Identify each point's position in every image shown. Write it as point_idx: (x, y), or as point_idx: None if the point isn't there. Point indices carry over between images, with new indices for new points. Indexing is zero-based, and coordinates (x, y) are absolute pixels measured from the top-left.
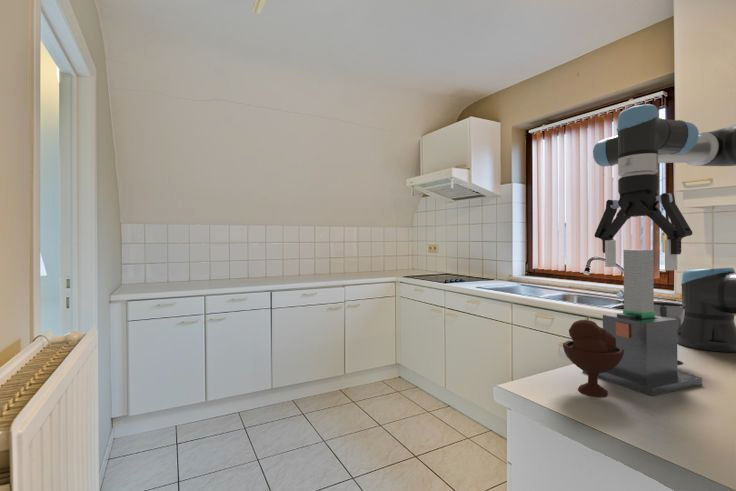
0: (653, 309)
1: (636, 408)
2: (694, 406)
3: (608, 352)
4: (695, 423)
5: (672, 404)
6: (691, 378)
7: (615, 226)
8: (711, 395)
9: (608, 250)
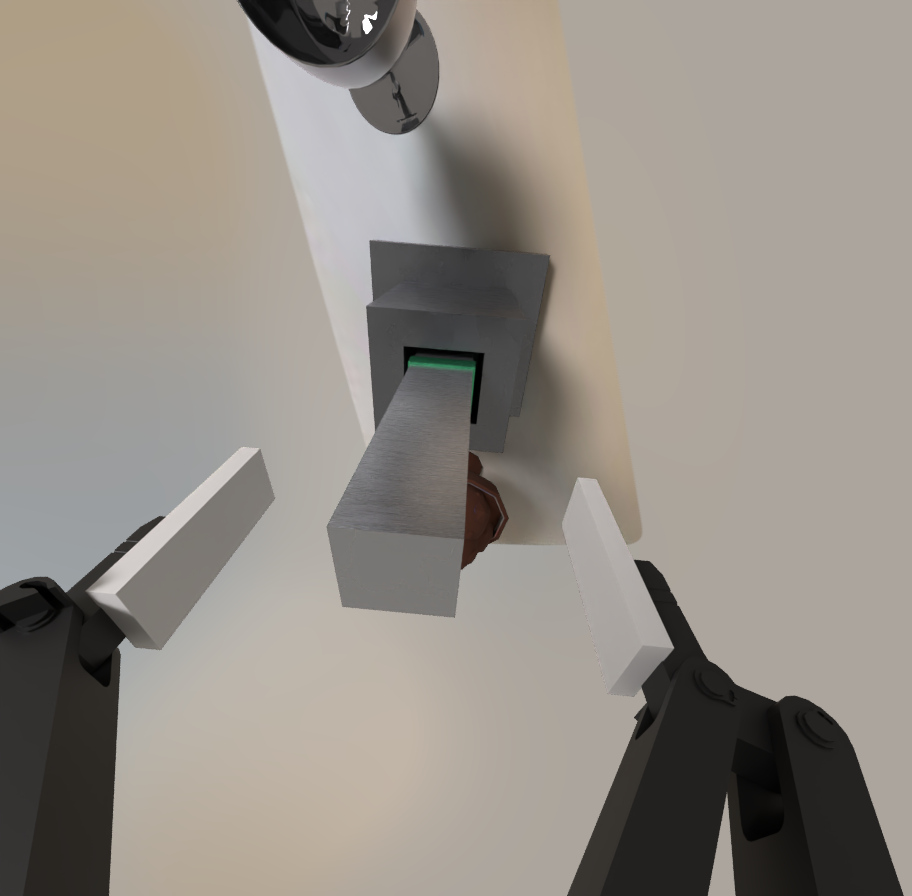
0: (472, 372)
1: (527, 470)
2: (574, 396)
3: (489, 518)
4: (593, 454)
5: (551, 416)
6: (538, 287)
7: (106, 822)
8: (578, 311)
9: (214, 572)
